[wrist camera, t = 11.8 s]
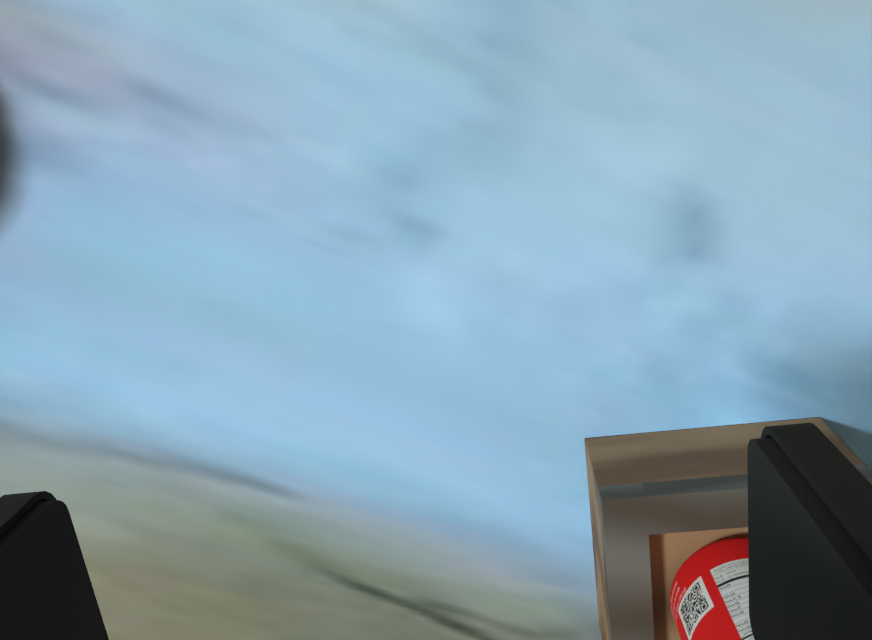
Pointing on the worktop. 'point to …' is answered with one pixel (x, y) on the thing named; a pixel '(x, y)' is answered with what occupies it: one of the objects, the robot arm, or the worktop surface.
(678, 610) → the beverage can
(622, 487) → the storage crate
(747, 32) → the worktop surface
